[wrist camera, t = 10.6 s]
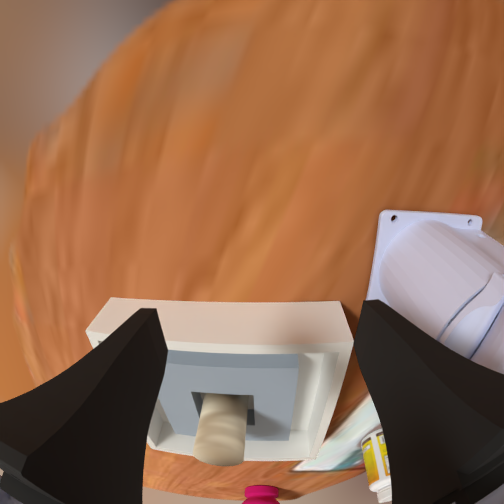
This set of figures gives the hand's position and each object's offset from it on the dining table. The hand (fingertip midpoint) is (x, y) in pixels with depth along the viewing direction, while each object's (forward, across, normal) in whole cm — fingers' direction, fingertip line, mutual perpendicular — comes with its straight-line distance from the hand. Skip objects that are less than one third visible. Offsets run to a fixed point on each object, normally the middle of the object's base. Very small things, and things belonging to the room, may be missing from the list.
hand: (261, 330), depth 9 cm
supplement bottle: (+8, -16, +28) cm, 34 cm away
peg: (+9, +3, +15) cm, 18 cm away
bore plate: (+10, +3, +15) cm, 18 cm away
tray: (+10, +3, +14) cm, 17 cm away
